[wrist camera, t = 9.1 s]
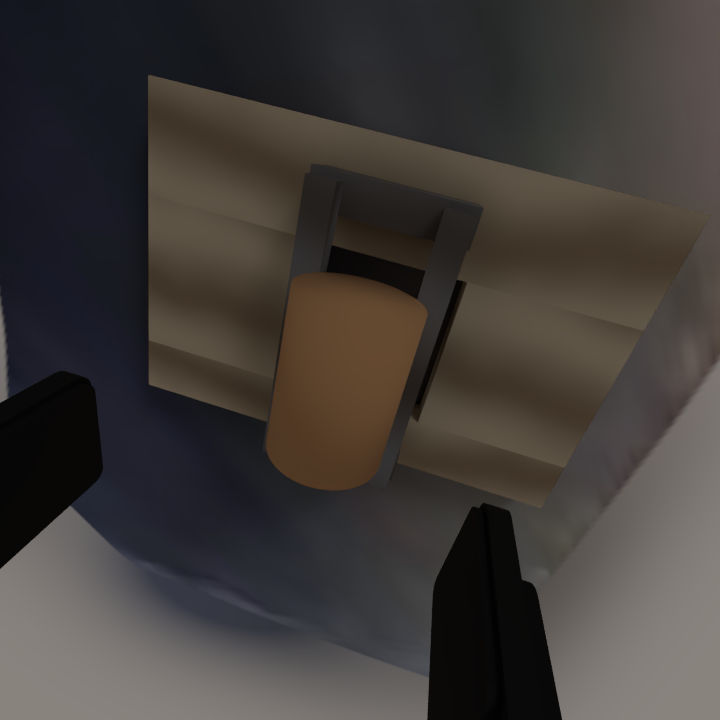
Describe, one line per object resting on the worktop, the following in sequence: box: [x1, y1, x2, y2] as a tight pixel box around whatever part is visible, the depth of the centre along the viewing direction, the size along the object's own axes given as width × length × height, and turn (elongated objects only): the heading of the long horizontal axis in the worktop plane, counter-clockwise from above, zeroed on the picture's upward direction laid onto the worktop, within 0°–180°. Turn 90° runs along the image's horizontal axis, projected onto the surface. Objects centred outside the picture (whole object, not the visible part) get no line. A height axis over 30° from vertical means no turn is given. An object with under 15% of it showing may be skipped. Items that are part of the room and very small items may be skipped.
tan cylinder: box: [266, 272, 428, 490], centre depth 16 cm, size 7×5×5 cm
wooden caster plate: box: [148, 75, 711, 508], centre depth 20 cm, size 16×24×6 cm, turn 77°
